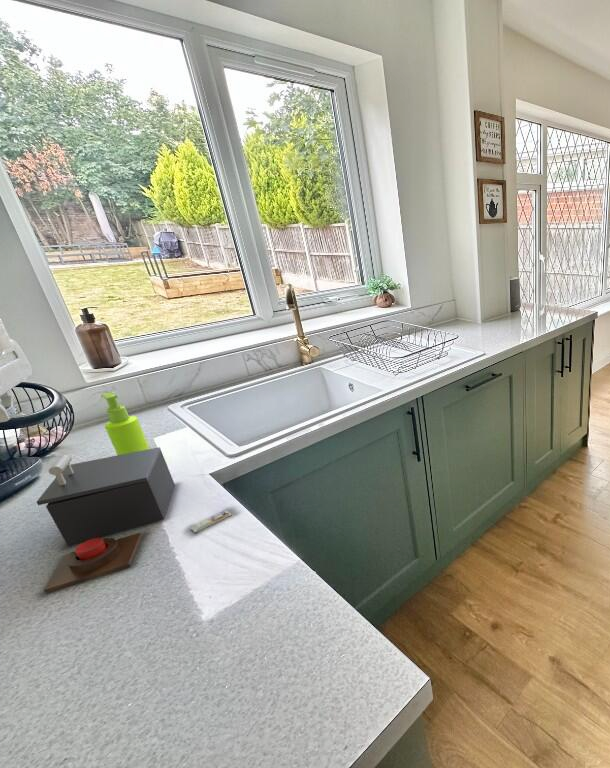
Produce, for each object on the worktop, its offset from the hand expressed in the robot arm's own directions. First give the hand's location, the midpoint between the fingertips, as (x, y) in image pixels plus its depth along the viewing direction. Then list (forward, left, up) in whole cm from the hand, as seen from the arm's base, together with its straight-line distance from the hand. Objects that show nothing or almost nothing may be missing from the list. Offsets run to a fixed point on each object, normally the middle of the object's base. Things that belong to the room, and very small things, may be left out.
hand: (6, 418), depth 71 cm
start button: (+7, -11, -24) cm, 27 cm away
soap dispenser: (+6, +26, -27) cm, 37 cm away
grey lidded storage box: (+8, +4, -26) cm, 28 cm away
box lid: (+7, +4, -16) cm, 18 cm away
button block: (+7, -11, -26) cm, 29 cm away
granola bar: (+24, -9, -26) cm, 37 cm away
